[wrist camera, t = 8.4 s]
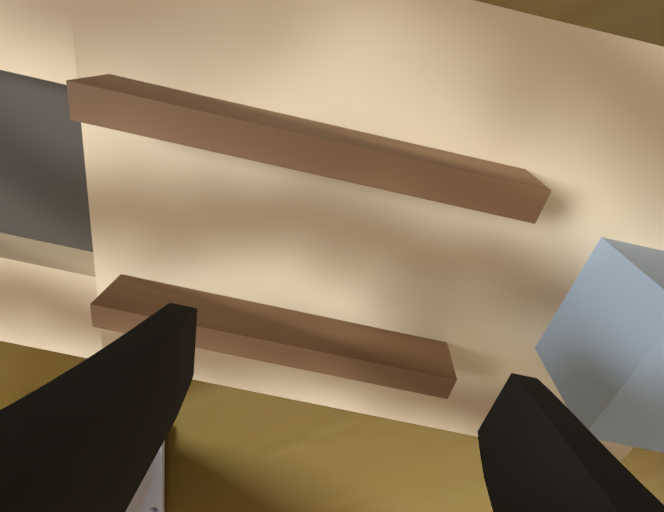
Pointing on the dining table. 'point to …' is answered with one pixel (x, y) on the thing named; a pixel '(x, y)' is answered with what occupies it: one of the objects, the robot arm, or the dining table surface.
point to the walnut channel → (315, 158)
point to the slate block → (612, 345)
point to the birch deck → (326, 178)
